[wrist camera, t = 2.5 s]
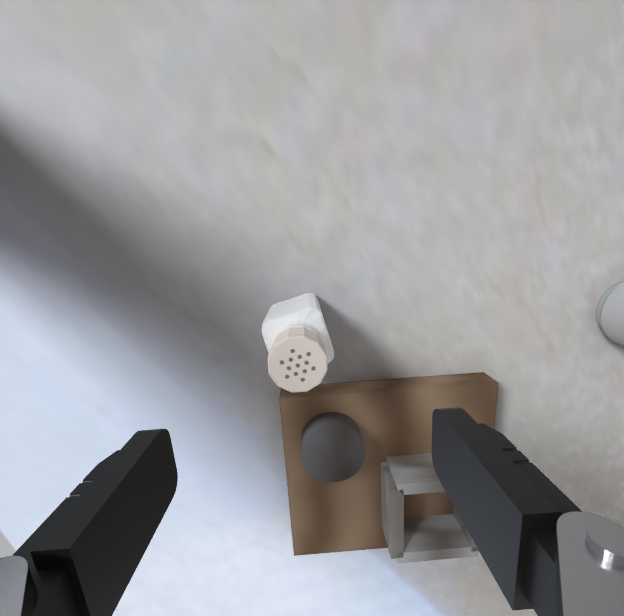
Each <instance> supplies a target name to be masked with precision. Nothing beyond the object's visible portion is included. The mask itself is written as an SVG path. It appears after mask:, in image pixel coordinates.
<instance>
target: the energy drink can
mask: <svg viewBox="0 0 624 616" xmlns="http://www.w3.org/2000/svg"><path fill="white" fill-rule="evenodd" d="M596 318H597V322H598V325H599V326H600V328H601V329H602V330H603V331H604V333H605V334H606V336H607V337H608V338H609V339H610V340H611V341H613V342H615V343H617V344H620V345H623V346H624V281H622V282H619V283H617V284H615V285H614V286H612V287H611V288H610V289H608V290H607V291H606V292H605V294H604V295H603V296H602V298H601V299H600V301H599V303H598V306H597V311H596Z"/></svg>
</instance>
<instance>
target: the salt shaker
mask: <svg viewBox="0 0 624 616" xmlns="http://www.w3.org/2000/svg"><path fill="white" fill-rule="evenodd" d="M262 335H263V338H264V342H265V345H266V347H267V350H268V353H269V355H268V359H267V360H268V372H269V375H270V376H271V378H272V379H273V380H274V382H275V383H276V385H277V386H278V387H281V388H283V389H285V390H287V391H290V392H307V391H309V390H311V389H312V388H314V387H315V386H317V385H319V384H320V383H321V381H322V380H323V378H324V376H325V374H326V373H327V371H328V366H327V365H328V364H329V363H330V362H331V361H332V360H333V359H334V350H333V346H332V343H331V340H330V337H329V333H328V330H327V327H326V324H325V320H324V317H323V314H322V311H321V308H320V305H319V302H318V299H317V297H316V296H315V295H314V293H306V294H303V295H300V296H297V297H294V298H291V299H288V300H284V301H281V302H278V303H275V304H274V305H272V306H271V307H270V309H269V311H268V313H267V315H266V317H265V320H264V322H263V324H262Z"/></svg>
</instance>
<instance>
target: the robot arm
mask: <svg viewBox="0 0 624 616" xmlns="http://www.w3.org/2000/svg"><path fill="white" fill-rule="evenodd" d="M432 461H433V466H434V469H435V472H436V475H437V477H438V479H439V481H440V482H441V484H442V486H443V488H444V489H445V491H446V493H447V495H448V497H449V498H450V500H451V502H452V504H453V505H454V507H455V509H456V511H457V512H458V514H459V516H460V518H461V520H462V521H463V523H464V525H465V527H466V528H467V530H468V532H469V534H470V535H471V537H472V539H473V541H474V543H475V544H476V546H477V548H478V550H479V551H480V553H481V555H482V557H483V558H484V560H485V562H486V564H487V566H488V567H489V569H490V571H491V573H492V574H493V576H494V578H495V580H496V582H497V583H498V585H499V587H500V589H501V590H502V592H503V594H504V596H505V597H506V599H507V601H508V603H509V605H510V606H511V608H512V610H522V609H534V610H535V612H536V613H537V615H538V616H624V527H623V526H621V525H620V524H618V523H616V522H613V521H611V520H609V519H607V518H604V517H601V516H598V515H595V514H591V513H586V512H582V511H581V510H580V509H579V508H578V507H577V506H576V505H575V504H574V503H573V502H572V501H571V500H570V499H569V498H568V497H567V496H566V495H565V494H563V493H562V492H561V491H560V490H559V489H558V488H557V487H556V486H555V485H554V484H553V483H552V482H551V481H550V480H549V479H548V478H547V477H546V476H545V475H544V474H543V473H542V472H541V471H540V470H539V469H538V468H537V467H536V466H535V465H534V464H533V463H530V462H529V460H528V459H527V458H526V457H525V456H524V455H523V454H522V453H521V452H520V451H517V449H516V447H515V446H514V445H513V444H512V443H511V442H510V441H509V440H508V439H507V438H506V437H505V436H504V435H503V434H501V433H500V432H498V431H496V430H494V429H493V428H491V427H489V426H487V425H486V424H484V423H481V424H477V423H476V421H475V420H474V419H473V418H472V417H471V416H470V415H469V414H468V413H467V412H466V411H465V410H464V409H463V408H461V407H454V408H441V409H435V410H434V411H433V414H432ZM177 477H178V476H177V468H176V463H175V458H174V453H173V448H172V443H171V438H170V434H169V432H168V430H167V429H156V430H142V431H138V432H136V433H135V434H134V435H133V436H132V438H131V439H130V440H129V441H128V442H127V443H126V444H125V445H124V447H123V448H122V449H121V450H117V451H116V452H115V453H113V454H112V455H110V456H109V457H107V458H106V459H105V460H103V461H102V462H100V463H99V464H98V465H97V466H96V467H95V468H94V469H93V470H92V471H91V472H90V473H89V474H88V475H87V476H86V477H85V478H84V480H83V483H80V484H79V485H78V486H77V487H76V488H75V489H74V490H73V491H72V492H71V493H70V497H69V498H66V499H65V500H64V501H63V502H62V503H61V504H60V505H59V506H58V507H57V508H56V509H55V511H54V512H53V513H52V514H51V515H50V516H49V517H48V518H47V519H46V520H45V521H44V522H43V523H42V524H41V525H40V527H39V528H38V529H37V530H36V531H35V532H34V533H33V534H32V535H31V536H30V537H29V538H28V539H27V540H26V542H25V543H24V544H23V545H22V546H21V547H20V548H19V549H18V550H17V551H16V552H15V553H14V554H13V555H12V556H7V557H3V558H0V616H112V614H113V612H114V610H115V609H116V607H117V605H118V603H119V601H120V599H121V597H122V595H123V593H124V591H125V589H126V587H127V585H128V583H129V582H130V580H131V578H132V576H133V574H134V572H135V570H136V568H137V566H138V564H139V562H140V560H141V558H142V556H143V555H144V553H145V551H146V549H147V547H148V545H149V543H150V541H151V539H152V537H153V535H154V533H155V531H156V529H157V528H158V526H159V524H160V522H161V520H162V518H163V516H164V514H165V512H166V510H167V508H168V506H169V504H170V502H171V501H172V499H173V496H174V494H175V491H176V487H177Z"/></svg>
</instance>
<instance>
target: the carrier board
mask: <svg viewBox="0 0 624 616" xmlns="http://www.w3.org/2000/svg"><path fill="white" fill-rule="evenodd" d="M497 389H498V382H496V381H495V380H493V379H492V378H491V377H489V376H488V375H486V374H485V373H484V372H482V373H468V374H455V375H441V376H427V377H414V378H400V379H386V380H373V381H359V382H345V383H331V384H319V385H317V386H315V387H314V388H312V389H311V390H309V391H307V392H290V391H287V390H285V389H283V388H281V392H280V410H281V421H282V431H283V442H284V453H285V463H286V474H287V485H288V495H289V506H290V517H291V528H292V538H293V549H294V556H295V555H306V554H318V553H330V552H342V551H353V550H365V549H377V548H388V549H389V552H390V556H391V559H394V558H396V560H397V563H403V562H415V561H426V560H438V559H450V558H461V557H473V556H477V551H479V550H478V548H477V546H476V544H475V543H474V541H473V539H472V537H471V535H470V534H469V532H468V530H467V528H466V527H465V525H464V523H463V521H462V520H461V518H460V516H459V514H458V512H457V511H456V509H455V507H454V505H453V504H452V502H451V500H450V498H449V497H448V495H447V493H446V491H445V489H444V488H443V486H442V484H441V482H440V481H439V479H438V477H437V475H436V472H435V469H434V466H433V461H432V414H433V411H434V410H435V409H441V408H454V407H461V408H463V409H464V410H465V411H466V412H467V413H468V414H469V415H470V416H471V417H472V418H473V419H474V420H475V421H476V423H477V424H481V423H484V424H486V425H487V426H489V427H491V428H493V429H494V426H495V414H496V402H497Z"/></svg>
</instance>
